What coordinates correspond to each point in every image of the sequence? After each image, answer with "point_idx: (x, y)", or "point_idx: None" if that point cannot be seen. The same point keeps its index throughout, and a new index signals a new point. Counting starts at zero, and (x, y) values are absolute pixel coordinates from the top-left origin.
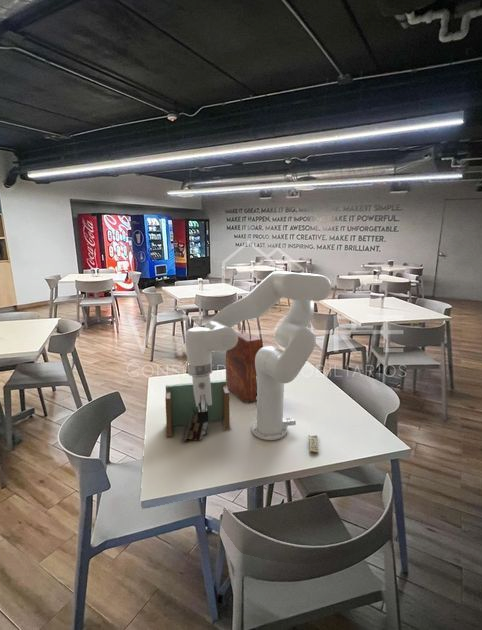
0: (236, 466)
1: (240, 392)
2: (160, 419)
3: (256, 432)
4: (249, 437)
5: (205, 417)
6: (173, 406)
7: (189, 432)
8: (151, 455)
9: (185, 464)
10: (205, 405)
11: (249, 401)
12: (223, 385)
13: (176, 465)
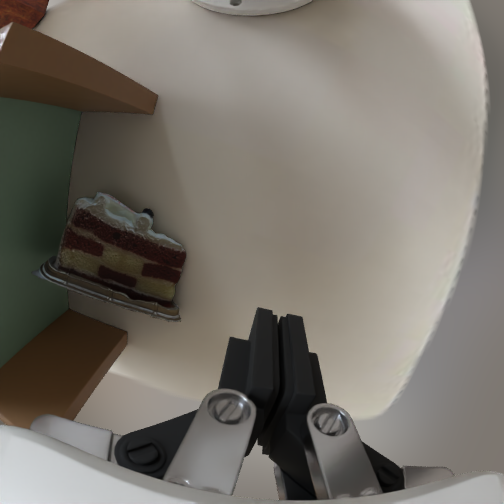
0: (421, 179)
1: None
2: None
3: (260, 3)
4: (261, 37)
5: (318, 372)
6: (20, 339)
7: (144, 293)
8: None
9: (315, 339)
10: (366, 492)
11: (45, 9)
12: None
13: None
